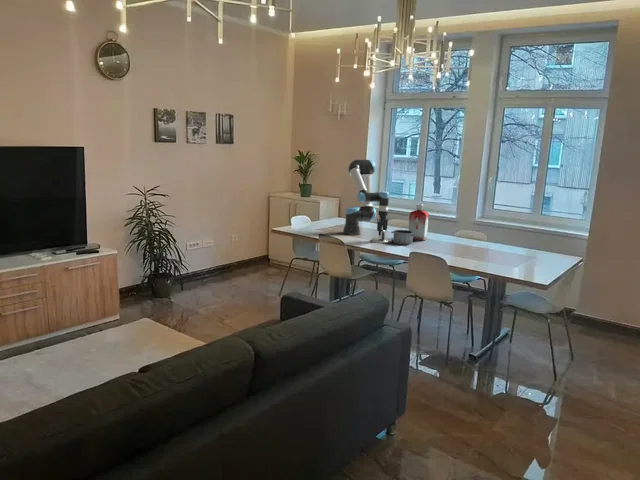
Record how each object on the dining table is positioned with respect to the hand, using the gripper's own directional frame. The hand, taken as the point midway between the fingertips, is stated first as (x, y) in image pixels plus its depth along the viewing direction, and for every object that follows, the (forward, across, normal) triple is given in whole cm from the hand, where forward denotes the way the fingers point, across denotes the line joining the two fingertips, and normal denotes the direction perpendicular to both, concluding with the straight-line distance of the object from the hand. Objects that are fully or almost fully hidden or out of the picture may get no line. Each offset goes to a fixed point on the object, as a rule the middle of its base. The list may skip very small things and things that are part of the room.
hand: (381, 238), depth 423 cm
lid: (+2, 0, 0) cm, 2 cm away
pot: (+2, +9, -15) cm, 18 cm away
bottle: (+2, +31, -16) cm, 35 cm away
